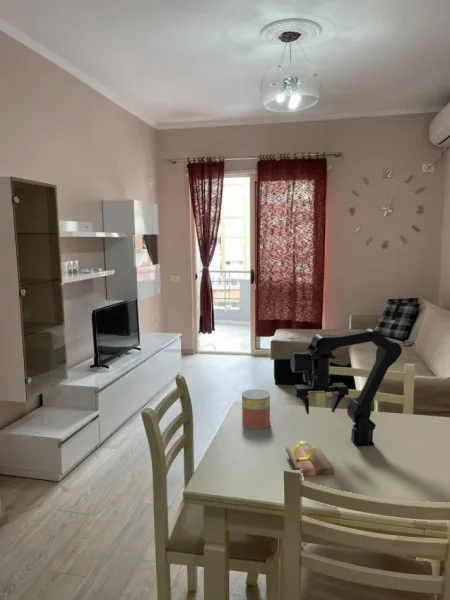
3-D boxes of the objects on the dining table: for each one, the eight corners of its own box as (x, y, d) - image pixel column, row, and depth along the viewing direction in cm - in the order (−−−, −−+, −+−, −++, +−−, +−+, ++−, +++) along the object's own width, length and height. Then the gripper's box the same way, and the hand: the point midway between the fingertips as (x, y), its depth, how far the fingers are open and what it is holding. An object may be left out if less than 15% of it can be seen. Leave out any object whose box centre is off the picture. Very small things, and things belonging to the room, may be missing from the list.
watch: (310, 457, 152) (311, 440, 151) (312, 461, 149) (314, 444, 149) (292, 457, 151) (293, 440, 150) (295, 461, 148) (296, 444, 148)
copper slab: (319, 453, 158) (319, 445, 158) (333, 474, 145) (333, 465, 144) (285, 455, 157) (285, 447, 157) (296, 476, 143) (296, 467, 143)
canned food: (244, 416, 192) (244, 388, 190) (271, 418, 189) (271, 390, 188) (239, 427, 181) (239, 398, 179) (268, 429, 178) (268, 399, 177)
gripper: (338, 363, 170) (337, 403, 172) (289, 365, 168) (288, 406, 170) (349, 372, 159) (348, 415, 161) (297, 374, 157) (296, 418, 159)
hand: (320, 413), depth 163 cm, fingers open, 9 cm apart
